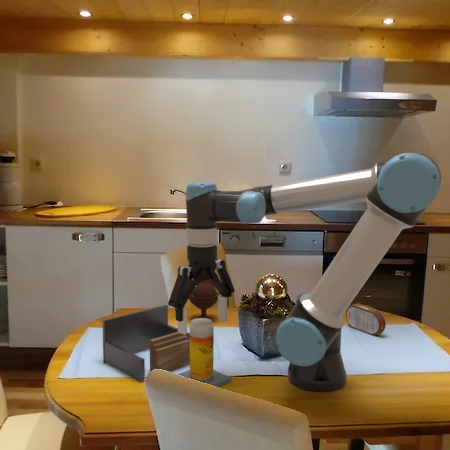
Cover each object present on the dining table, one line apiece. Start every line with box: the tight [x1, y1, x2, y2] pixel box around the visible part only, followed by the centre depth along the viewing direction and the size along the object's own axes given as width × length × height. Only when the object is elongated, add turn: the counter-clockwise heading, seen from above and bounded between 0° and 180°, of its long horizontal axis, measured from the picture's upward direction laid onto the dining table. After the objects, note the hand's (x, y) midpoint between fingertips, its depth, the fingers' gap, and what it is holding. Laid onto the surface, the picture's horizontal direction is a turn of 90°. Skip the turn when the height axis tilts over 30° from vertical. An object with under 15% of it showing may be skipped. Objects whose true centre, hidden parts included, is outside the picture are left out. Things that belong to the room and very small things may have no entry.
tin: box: [345, 303, 387, 336], centre depth 178 cm, size 15×3×8 cm, turn 34°
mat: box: [177, 369, 232, 388], centre depth 139 cm, size 11×11×1 cm
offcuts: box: [149, 332, 190, 373], centre depth 147 cm, size 4×11×9 cm, turn 134°
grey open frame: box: [102, 304, 190, 383], centre depth 151 cm, size 18×22×12 cm
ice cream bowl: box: [188, 280, 221, 321], centre depth 187 cm, size 11×11×15 cm
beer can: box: [189, 317, 215, 381], centre depth 138 cm, size 6×6×15 cm
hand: (203, 326), depth 137 cm, fingers open, 13 cm apart
